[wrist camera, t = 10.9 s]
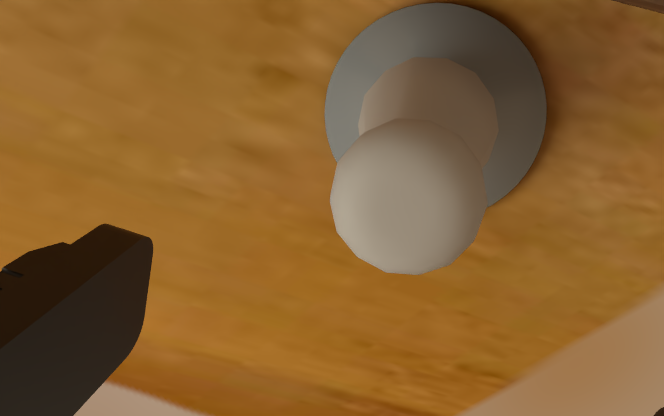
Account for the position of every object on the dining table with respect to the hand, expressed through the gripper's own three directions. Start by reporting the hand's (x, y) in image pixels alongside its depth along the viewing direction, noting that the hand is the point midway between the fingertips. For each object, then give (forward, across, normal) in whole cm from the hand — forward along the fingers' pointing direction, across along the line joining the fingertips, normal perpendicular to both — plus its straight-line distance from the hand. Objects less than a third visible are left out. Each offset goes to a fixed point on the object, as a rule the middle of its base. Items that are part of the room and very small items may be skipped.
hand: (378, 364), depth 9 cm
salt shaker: (+20, 0, 0) cm, 20 cm away
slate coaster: (+20, 0, 0) cm, 20 cm away
